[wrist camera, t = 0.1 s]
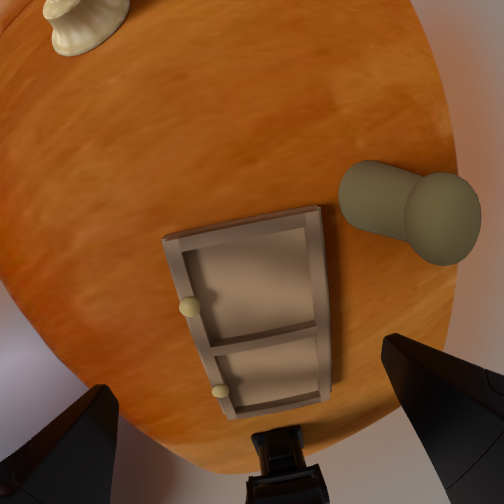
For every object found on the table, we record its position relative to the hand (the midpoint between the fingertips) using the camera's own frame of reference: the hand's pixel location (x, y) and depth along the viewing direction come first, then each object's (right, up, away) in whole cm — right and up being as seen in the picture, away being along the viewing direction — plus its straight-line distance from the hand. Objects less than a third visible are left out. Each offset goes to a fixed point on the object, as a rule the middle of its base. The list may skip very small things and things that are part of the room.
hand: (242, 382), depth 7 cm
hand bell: (-14, +25, +6) cm, 29 cm away
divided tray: (+1, -3, +17) cm, 17 cm away
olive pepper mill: (+10, +9, +14) cm, 19 cm away
